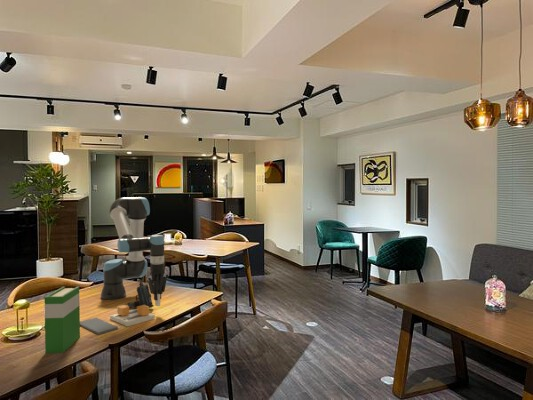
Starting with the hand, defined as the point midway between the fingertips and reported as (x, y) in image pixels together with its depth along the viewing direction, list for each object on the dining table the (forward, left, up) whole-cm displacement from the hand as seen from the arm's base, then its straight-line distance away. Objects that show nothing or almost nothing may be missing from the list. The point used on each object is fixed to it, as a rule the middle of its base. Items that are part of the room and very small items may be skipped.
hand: (157, 305), depth 219 cm
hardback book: (+4, -52, -5) cm, 52 cm away
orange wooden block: (-8, -16, -3) cm, 18 cm away
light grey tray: (-4, -13, -5) cm, 14 cm away
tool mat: (-7, -31, -5) cm, 32 cm away
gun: (-17, 0, -5) cm, 18 cm away
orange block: (0, -9, -3) cm, 9 cm away
